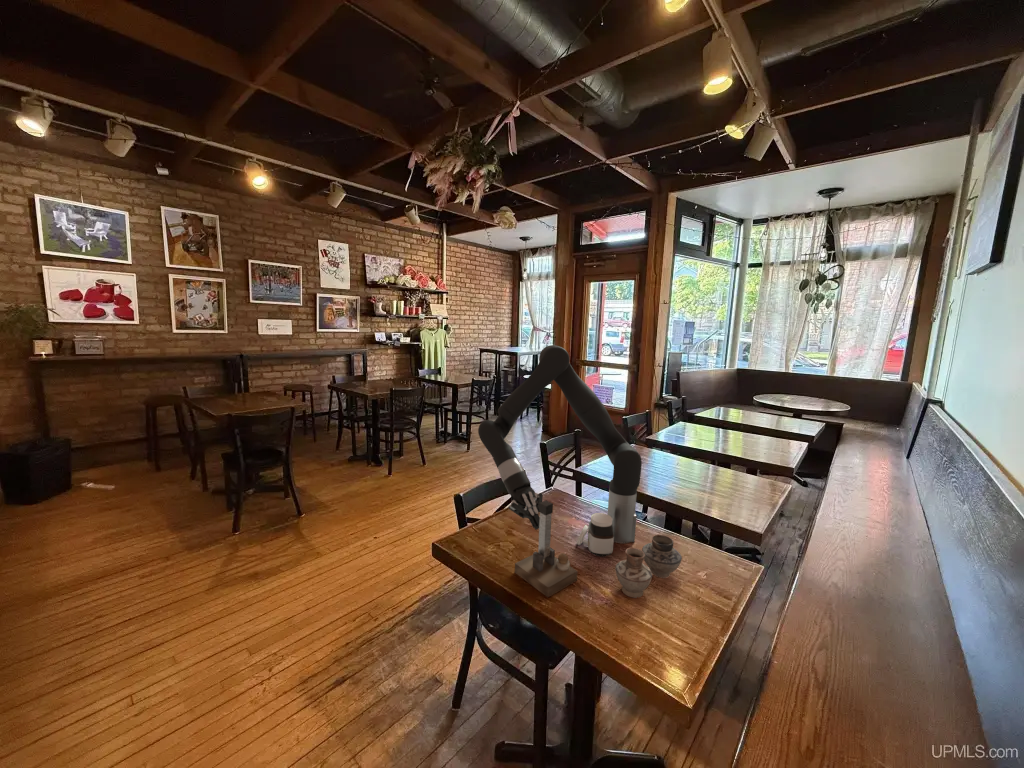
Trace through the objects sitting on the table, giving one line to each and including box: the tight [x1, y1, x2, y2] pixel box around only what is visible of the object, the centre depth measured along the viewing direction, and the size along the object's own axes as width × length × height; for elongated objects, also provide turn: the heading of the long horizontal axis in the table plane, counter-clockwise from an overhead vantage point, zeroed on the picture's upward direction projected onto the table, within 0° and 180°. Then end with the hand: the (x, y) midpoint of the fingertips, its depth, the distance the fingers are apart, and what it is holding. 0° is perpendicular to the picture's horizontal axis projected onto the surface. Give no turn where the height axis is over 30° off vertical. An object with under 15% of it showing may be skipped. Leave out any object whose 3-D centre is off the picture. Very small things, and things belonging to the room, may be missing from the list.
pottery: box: [614, 534, 683, 599], centre depth 119 cm, size 11×25×12 cm, turn 130°
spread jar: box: [576, 512, 614, 558], centre depth 135 cm, size 12×11×12 cm
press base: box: [514, 546, 578, 598], centre depth 120 cm, size 14×12×8 cm
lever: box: [537, 500, 554, 560], centre depth 119 cm, size 3×3×17 cm
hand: (539, 528), depth 121 cm, fingers closed
